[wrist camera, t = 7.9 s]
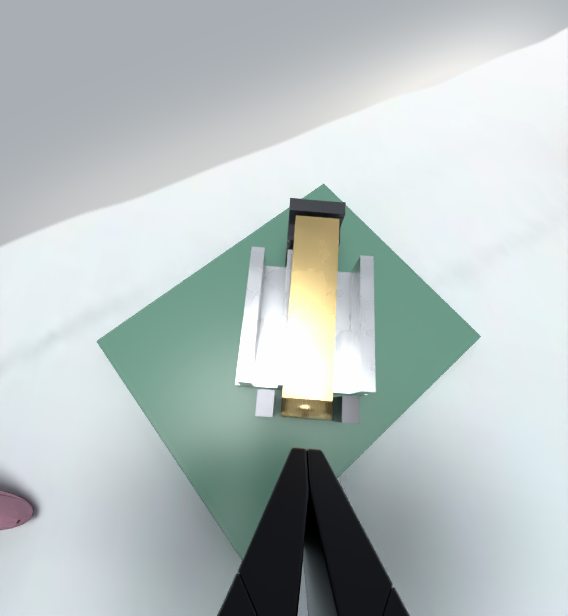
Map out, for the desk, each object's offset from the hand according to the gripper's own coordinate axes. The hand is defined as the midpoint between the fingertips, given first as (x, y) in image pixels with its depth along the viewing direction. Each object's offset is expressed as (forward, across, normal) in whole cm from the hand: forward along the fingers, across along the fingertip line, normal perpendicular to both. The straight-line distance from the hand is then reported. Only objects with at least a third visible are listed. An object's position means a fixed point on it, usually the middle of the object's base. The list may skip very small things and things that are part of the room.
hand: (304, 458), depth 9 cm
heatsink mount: (+13, 0, +3) cm, 13 cm away
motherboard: (+13, 0, +4) cm, 13 cm away
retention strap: (+9, -1, 0) cm, 9 cm away
